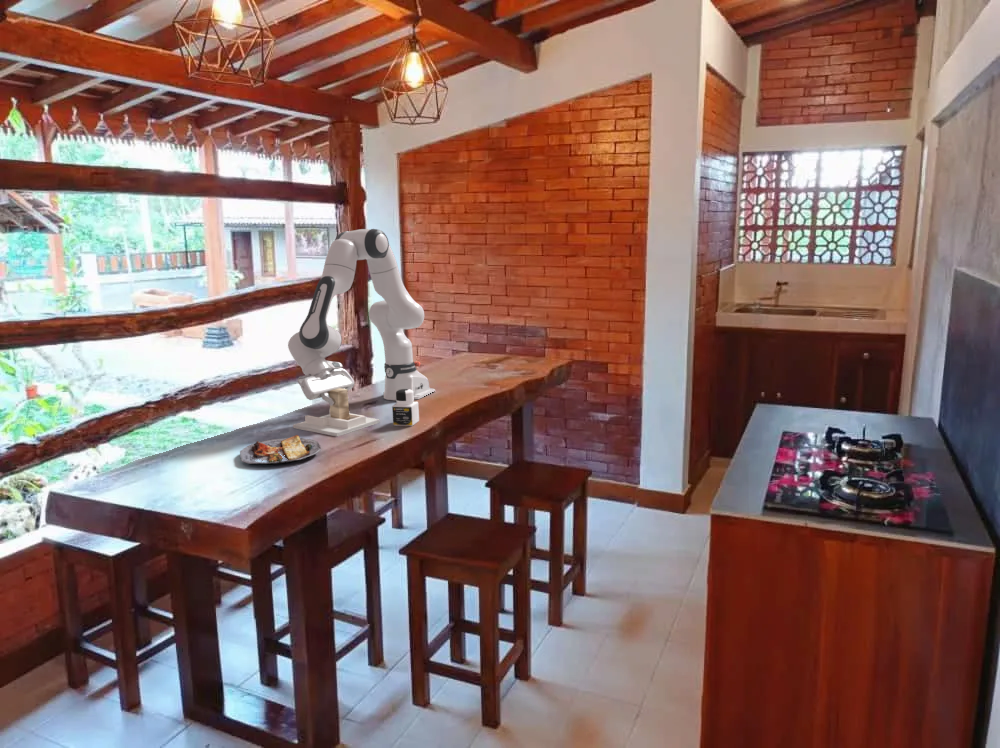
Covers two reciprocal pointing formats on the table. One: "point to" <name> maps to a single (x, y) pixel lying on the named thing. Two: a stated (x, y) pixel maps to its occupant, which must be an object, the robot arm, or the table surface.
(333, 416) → the beech peg
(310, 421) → the keyhole dock
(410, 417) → the medicine bottle
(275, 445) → the food plate
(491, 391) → the table surface
